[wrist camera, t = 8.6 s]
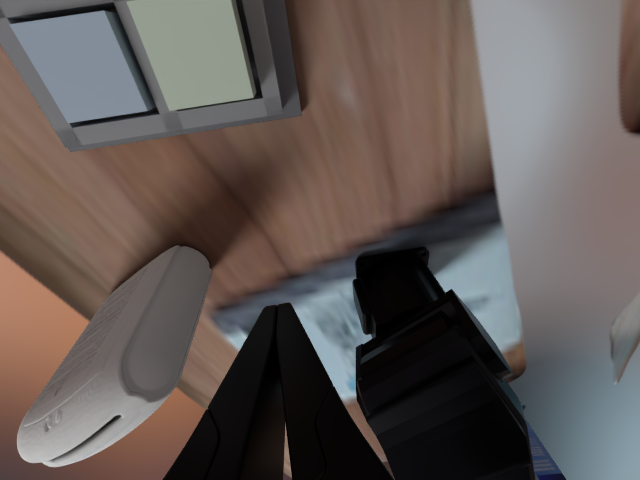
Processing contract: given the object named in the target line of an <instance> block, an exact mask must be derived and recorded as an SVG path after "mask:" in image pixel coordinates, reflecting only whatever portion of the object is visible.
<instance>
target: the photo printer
mask: <svg viewBox="0 0 640 480" xmlns="http://www.w3.org/2000/svg"><path fill="white" fill-rule="evenodd" d="M211 277H212V270H211V269H210V268H209V262H208V260H207V259H206V257H205V256H204V255H203V254H202V253H200V252H199V251H197V250H195V249H193V248H190V247H186V246H183V247H180V246H179V245H177V246H174V247H172V248H170V249H168V250H166V251H165V252H163V253H162V254H160V255H159V256H158V257H156V258H155V259H153V260H152V261H151V262H150V263H148V264H147V265H146V266H144V267H143V268H142V269H140V270H139V271H138V272H137V273H135V274H134V275H133V276H132V277H130V278H129V279H128V280H126V281H125V282H124V283H123V284H122V285H120V286H119V287H118V288H117V289H116V290H115V291H114V292H112V293H111V294H110V295H109V296H108V297H107V299H106V300H105V301H104V302H103V303H102V305H101V306H100V308H99V309H98V311H97V312H96V314H95V315H94V317H93V318H92V320H91V321H90V322H89V324H88V325H87V327H86V329H85V330H84V331H83V333H82V334H81V336H80V337H79V338H78V340H77V341H76V343H75V344H74V346H73V347H72V349H71V350H70V352H69V353H68V355H67V356H66V357H65V359H64V360H63V361H62V363H61V364H60V366H59V367H58V369H57V370H56V372H55V373H54V374H53V376H52V377H51V379H50V380H49V382H48V383H47V385H46V386H45V387H44V389H43V390H42V392H41V393H40V395H39V396H38V398H37V399H36V400H35V402H34V403H33V405H32V406H31V408H30V409H29V411H28V412H27V413H26V415H25V417H24V419H23V421H22V423H21V425H20V427H19V431H18V435H17V448H18V452H19V454H20V456H21V457H22V458H23V459H24V460H25V461H27V462H29V463H39V462H42V463H43V464H45V465H47V466H49V467H58V466H64V465H68V464H72V463H75V462H77V461H80V460H83V459H85V458H88V457H90V456H92V455H94V454H96V453H98V452H100V451H102V450H104V449H105V448H107V447H109V446H110V445H112V444H113V443H115V442H117V441H118V440H119V439H121V438H123V437H124V436H125V435H127V434H128V433H129V432H131V431H132V430H133V429H135V428H136V427H137V426H138V425H140V424H141V423H142V422H143V421H145V420H146V419H147V418H148V417H149V416H150V415H151V414H153V412H155V411H156V410H157V409H158V408H159V407H160V406H161V405H162V404H163V402H164V401H165V400H166V399H167V398H168V397H169V395H170V394H171V393H172V391H173V390H174V389H175V387H176V386H177V384H178V382H179V380H180V377H181V375H182V372H183V369H184V365H185V362H186V359H187V356H188V353H189V349H190V346H191V343H192V340H193V336H194V333H195V330H196V327H197V324H198V320H199V317H200V314H201V310H202V307H203V304H204V300H205V297H206V294H207V291H208V287H209V284H210V280H211Z"/></svg>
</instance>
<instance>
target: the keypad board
mask: <svg viewBox="0 0 640 480" xmlns="http://www.w3.org/2000/svg"><path fill="white" fill-rule="evenodd" d="M127 1H134V0H0V44H1V46H2V48H3V49H4V51H5V52H6V54H7V55H8V57H9V59H10V60H11V62H12V63H13V65H14V67H15V68H16V70H17V71H18V73H19V75H20V76H21V78H22V79H23V81H24V83H25V84H26V86H27V87H28V89H29V90H30V92H31V94H32V95H33V97H34V98H35V100H36V102H37V103H38V105H39V106H40V108H41V110H42V111H43V113H44V114H45V116H46V117H47V119H48V121H49V122H50V124H51V125H52V127H53V129H54V130H55V132H56V133H57V135H58V137H59V138H60V140H61V141H62V143H63V145H64V146H65V148H68V149H69V151H70V152H73V151H80V150H86V149H92V148H99V147H105V146H112V145H118V144H124V143H131V142H137V141H143V140H150V139H156V138H162V137H169V136H175V135H181V134H188V133H194V132H200V131H207V130H213V129H220V128H226V127H232V126H239V125H245V124H251V123H258V122H264V121H270V120H277V119H283V118H289V117H296V116H302V113H301V107H300V100H299V93H298V87H297V80H296V73H295V67H294V60H293V53H292V47H291V40H290V33H289V27H288V20H287V13H286V7H285V0H236V4H237V8H238V13H239V17H240V21H241V26H242V30H243V35H244V39H245V44H246V48H247V53H248V57H249V61H250V66H251V70H252V75H253V79H254V84H255V88H256V94H255V96H254V98H249V99H243V100H236V101H230V102H224V103H217V104H211V105H204V106H198V107H191V108H185V109H178V110H172V111H169V109H168V106H167V104H166V101H165V99H164V96H163V94H162V91H161V88H160V86H159V83H158V81H157V78H156V76H155V73H154V71H153V68H152V66H151V63H150V61H149V58H148V55H147V53H146V50H145V48H144V45H143V43H142V40H141V38H140V35H139V33H138V30H137V28H136V25H135V22H134V20H133V17H132V15H131V12H130V10H129V7H128V5H127ZM98 11H109V12H113V13H118V14H119V17H120V19H121V21H122V24H123V26H124V29H125V31H126V34H127V36H128V38H129V41H130V43H131V46H132V48H133V50H134V53H135V55H136V58H137V60H138V63H139V65H140V67H141V70H142V72H143V75H144V77H145V79H146V82H147V84H148V87H149V89H150V92H151V94H152V96H153V99H154V101H155V104H156V106H157V107H155V108H153V109H151V110H149V111H144V112H138V113H131V114H125V115H118V116H112V117H105V118H99V119H93V120H86V121H80V122H73V123H67V121H66V119H65V117H64V116H63V114H62V112H61V111H60V109H59V107H58V106H57V104H56V102H55V101H54V99H53V97H52V96H51V94H50V92H49V91H48V89H47V87H46V86H45V84H44V82H43V80H42V79H41V77H40V75H39V74H38V72H37V70H36V69H35V67H34V65H33V64H32V62H31V60H30V59H29V57H28V55H27V54H26V52H25V50H24V49H23V47H22V45H21V44H20V42H19V40H18V38H17V37H16V35H15V33H14V32H13V30H12V28H11V27H10V25H9V24H15V23H22V22H29V21H36V20H43V19H50V18H57V17H63V16H70V15H77V14H84V13H91V12H98Z"/></svg>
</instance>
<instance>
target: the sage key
mask: <svg viewBox="0 0 640 480" xmlns="http://www.w3.org/2000/svg"><path fill="white" fill-rule="evenodd" d="M127 5H128V7H129V10H130V12H131V15H132V17H133V20H134V22H135V25H136V28H137V30H138V33H139V35H140V38H141V40H142V43H143V45H144V48H145V50H146V53H147V55H148V58H149V61H150V63H151V66H152V68H153V71H154V73H155V76H156V78H157V81H158V83H159V86H160V88H161V91H162V94H163V96H164V99H165V101H166V104H167V106H168V109H169V111H172V110H178V109H185V108H191V107H198V106H204V105H211V104H217V103H224V102H230V101H236V100H243V99H249V98H254V96H255V94H256V88H255V84H254V79H253V75H252V70H251V66H250V61H249V57H248V53H247V48H246V44H245V39H244V35H243V30H242V26H241V21H240V17H239V13H238V8H237V4H236V0H134V1H127Z"/></svg>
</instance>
